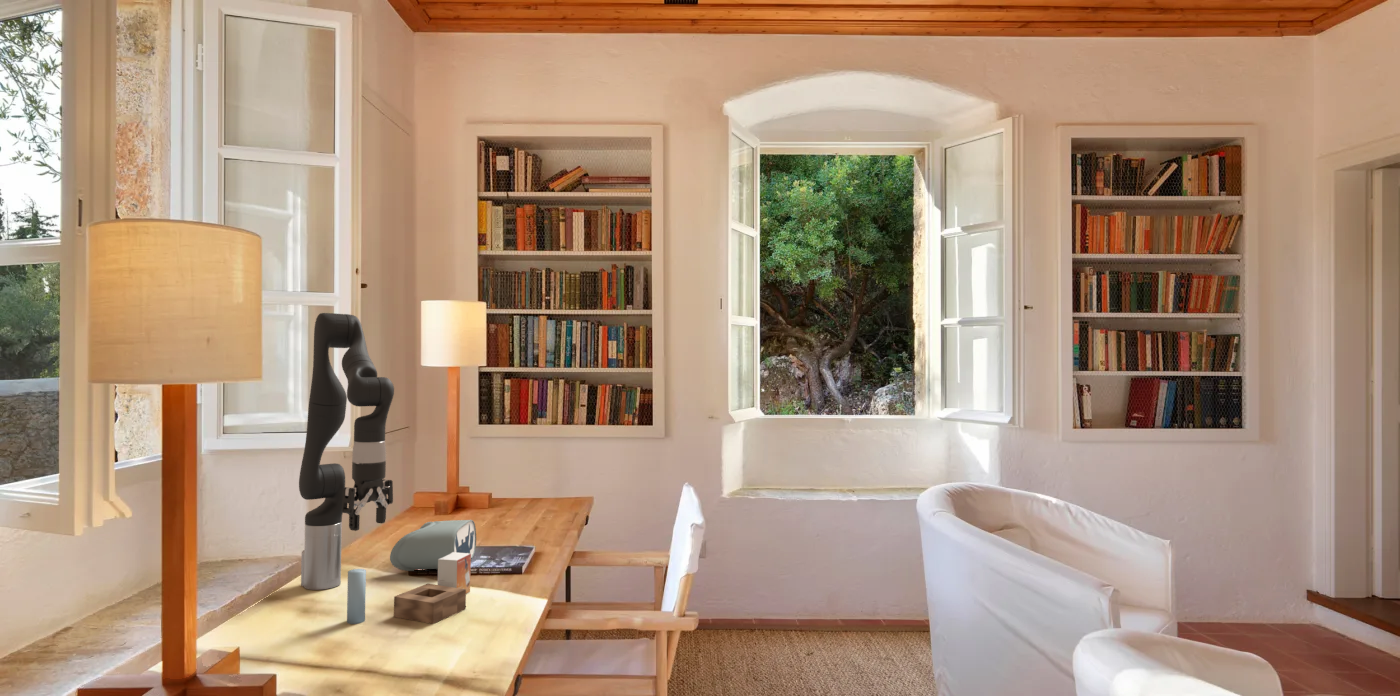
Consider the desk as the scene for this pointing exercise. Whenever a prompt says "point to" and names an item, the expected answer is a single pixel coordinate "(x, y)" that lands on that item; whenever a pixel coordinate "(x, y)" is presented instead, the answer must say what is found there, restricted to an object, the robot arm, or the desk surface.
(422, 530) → the pencil case
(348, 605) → the peg
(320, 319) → the robot arm
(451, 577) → the small box
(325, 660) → the desk surface
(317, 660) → the desk surface
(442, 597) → the socket block
